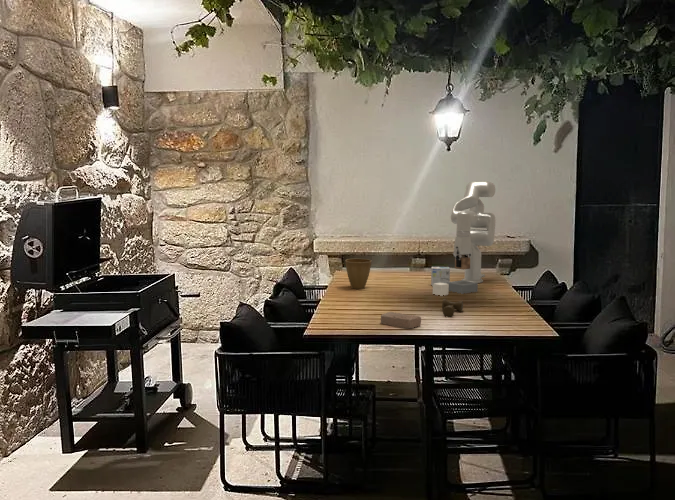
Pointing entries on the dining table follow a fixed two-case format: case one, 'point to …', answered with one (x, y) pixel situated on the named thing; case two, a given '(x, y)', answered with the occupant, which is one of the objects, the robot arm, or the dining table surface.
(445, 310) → the kendama
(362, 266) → the plant pot
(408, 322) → the brick
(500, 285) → the dining table surface
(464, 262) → the walnut cube
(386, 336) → the dining table surface
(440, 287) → the off-white cube
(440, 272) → the light bulb box
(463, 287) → the base block
